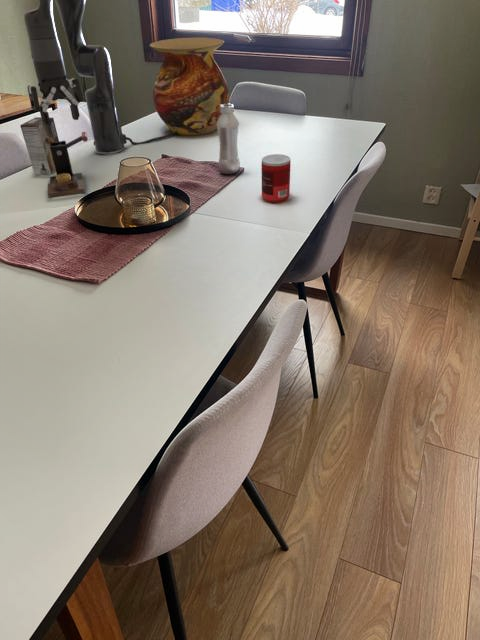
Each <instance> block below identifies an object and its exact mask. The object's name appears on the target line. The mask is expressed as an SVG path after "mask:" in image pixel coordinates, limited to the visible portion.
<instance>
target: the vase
mask: <svg viewBox="0 0 480 640" xmlns="http://www.w3.org/2000/svg"><path fill="white" fill-rule="evenodd" d="M223 44H225V40H223V39H220V38H213V37H178V38H169V39H161V40H157V41H154V42H151V43H150V44H149V47H150V48H152V49H154V51H157V52H158V53H160V55H162V58H163V61H162V64H161V65H160V68H159V71H158V73H157V76H156V79H155V82H154V84H153V85H154V86H153V88H152V89H153V91H152V100H153V106H154V108H155V111H156V113H157V114H158V116H159V118H160V119H161V121H162V122H163V123H164V125H165V126H166V127H167V128H168V129H169V131H170V132H171V133H174V132H177V133H178V134H177V135H181V136H199V135H206V134H209V133H212V132H215V131H216V130H218V129H217V122H218V119H219V118H220V116H221V114H222V113H221V105H222V104H230V91H229V87H228V83H227V80H226V78H225V75H224V74H223V72H222V70H221V68H220V67H219V65H218V63H217V62H216V60H215V59H214V55H213V54H214V53H215V51H216V50H217V49H219V48H220V47H221V46H222V45H223Z"/></svg>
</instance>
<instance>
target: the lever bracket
mask: <svg viewBox="0 0 480 640" xmlns="http://www.w3.org/2000/svg"><path fill="white" fill-rule="evenodd" d="M60 143H61V144H62V145H59V144H60ZM65 144H67V141H66V140H59V141H58V142H50V145H51V146H50V150H51V153H52V157H53V161H54V165H55V169H56V172H55V173H56V175H51V176H50V177H49V184H50V183H52V180H54V179H55V178H56V176H57V175H59V174H62V173H68V174H70V176H74V177H76V179H77V180H81V179H83V178H84V177H83V172H77V173H74V171H73V167H72V163H71V159H70V155H69V151H68V150H69V149H68V148H67V149H66V145H65ZM57 145H58V146H57ZM83 180H84V179H83Z"/></svg>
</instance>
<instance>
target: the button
mask: <svg viewBox="0 0 480 640" xmlns="http://www.w3.org/2000/svg"><path fill="white" fill-rule="evenodd" d="M55 176H56V179H57V183H67V182H70V181H71V176H70V174H68V173H62V174H59V175H57V174H56V175H55Z"/></svg>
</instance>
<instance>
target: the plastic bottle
mask: <svg viewBox="0 0 480 640" xmlns="http://www.w3.org/2000/svg"><path fill="white" fill-rule="evenodd" d="M221 113H222V114H221V116H220V118H219V119H218V122H217V129H216V130H217V134H218V142H219V158H218V170H219V171H220V173H222V174H224V175H233V174H236V173H238V172H239V171H240V167H241V161H240V157H239V149H238V141H239V140H238V139H239V138H238V137H239V129H240V128H239V127H240V123H239V120H238V118H237V117H236V116H235V114H234V113H235V107H234V104H233V103H232V104H231V103H229V104H222V105H221Z"/></svg>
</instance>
